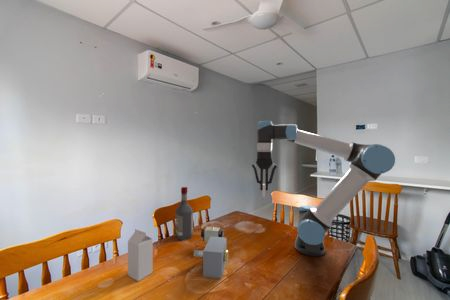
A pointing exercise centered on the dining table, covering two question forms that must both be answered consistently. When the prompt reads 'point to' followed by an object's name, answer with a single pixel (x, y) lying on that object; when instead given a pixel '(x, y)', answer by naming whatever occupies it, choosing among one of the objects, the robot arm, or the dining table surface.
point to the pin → (200, 254)
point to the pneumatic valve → (211, 233)
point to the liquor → (184, 218)
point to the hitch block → (214, 257)
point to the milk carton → (140, 255)
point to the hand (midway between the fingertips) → (263, 196)
